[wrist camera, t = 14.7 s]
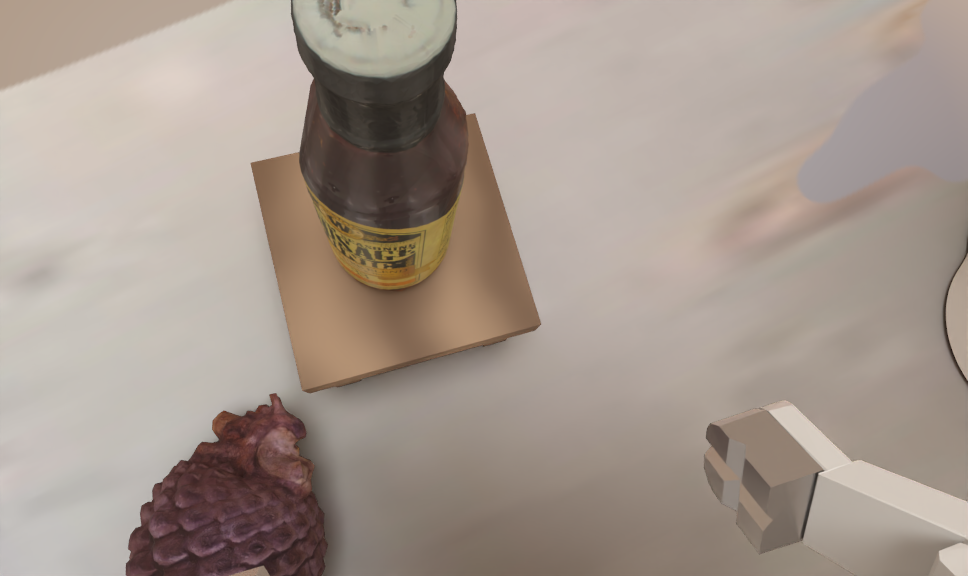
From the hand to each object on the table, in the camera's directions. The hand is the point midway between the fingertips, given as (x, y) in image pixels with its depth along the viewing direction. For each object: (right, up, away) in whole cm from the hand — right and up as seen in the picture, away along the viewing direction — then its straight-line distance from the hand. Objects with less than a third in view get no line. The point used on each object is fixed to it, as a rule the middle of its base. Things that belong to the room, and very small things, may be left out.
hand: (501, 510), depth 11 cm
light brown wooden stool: (-6, +4, +32) cm, 33 cm away
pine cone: (-14, -12, +27) cm, 33 cm away
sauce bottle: (-5, +6, +23) cm, 25 cm away
